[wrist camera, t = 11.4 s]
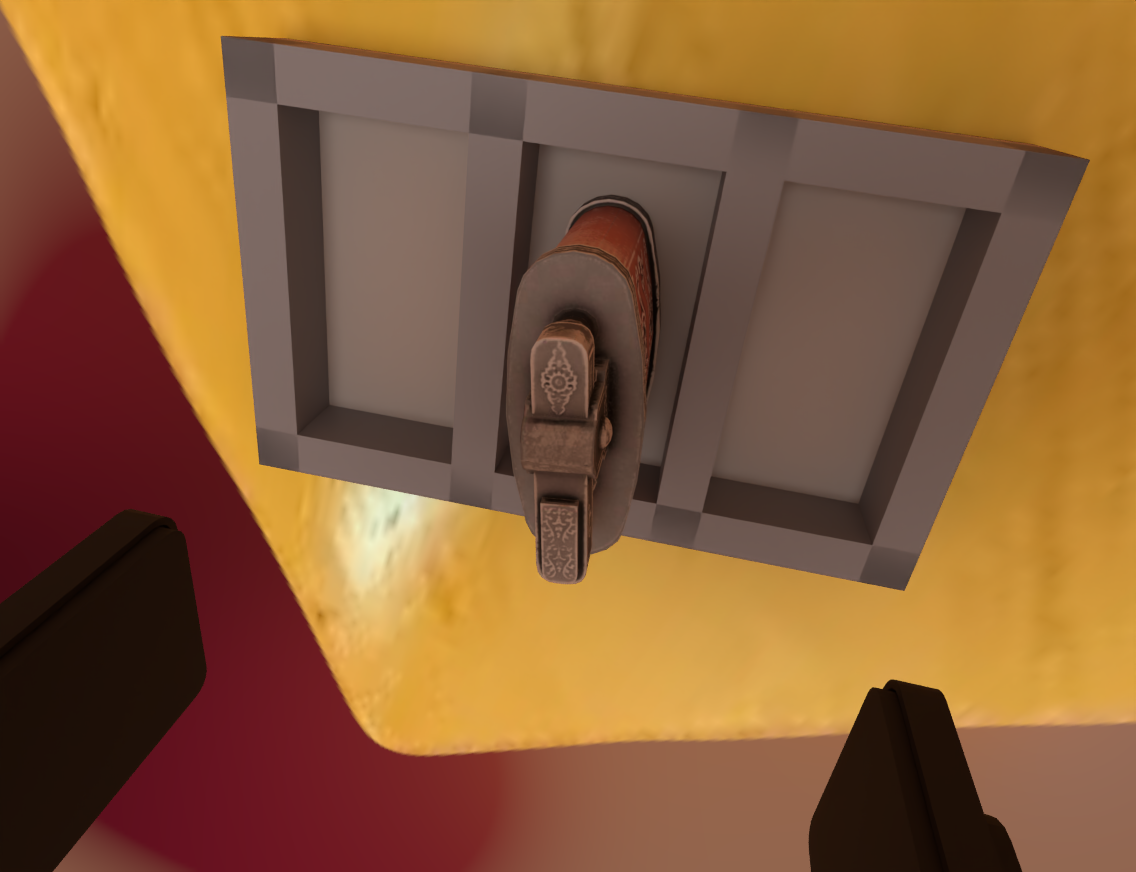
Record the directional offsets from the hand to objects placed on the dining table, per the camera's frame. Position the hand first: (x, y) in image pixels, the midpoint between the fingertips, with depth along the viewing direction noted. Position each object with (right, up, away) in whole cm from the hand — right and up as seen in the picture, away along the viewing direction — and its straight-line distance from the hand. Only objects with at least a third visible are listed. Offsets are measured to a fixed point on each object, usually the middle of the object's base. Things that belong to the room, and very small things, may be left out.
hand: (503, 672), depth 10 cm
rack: (+2, +8, +15) cm, 17 cm away
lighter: (+2, +7, +15) cm, 16 cm away
